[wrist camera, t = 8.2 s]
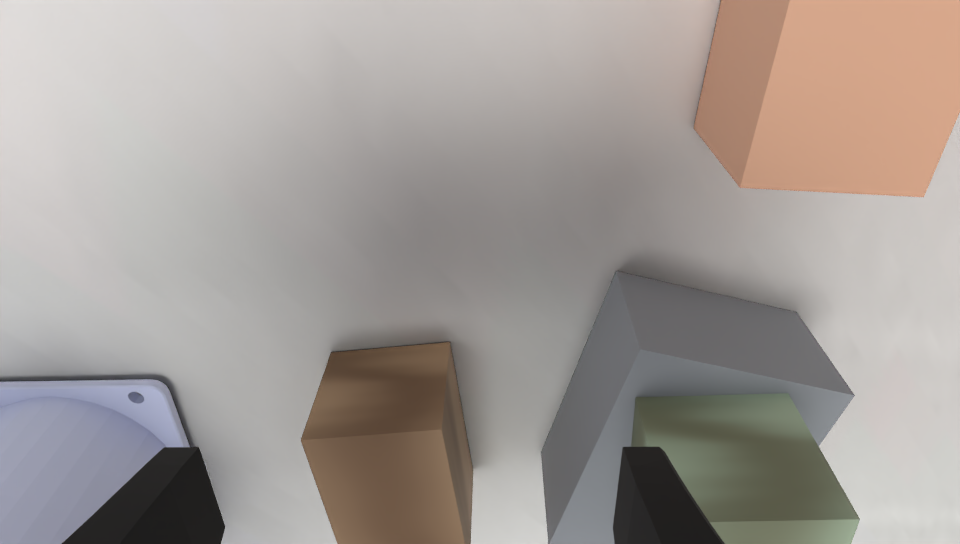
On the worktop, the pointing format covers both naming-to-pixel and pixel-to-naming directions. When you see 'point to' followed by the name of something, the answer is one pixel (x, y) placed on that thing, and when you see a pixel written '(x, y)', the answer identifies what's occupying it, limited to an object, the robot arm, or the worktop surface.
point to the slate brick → (669, 385)
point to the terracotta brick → (832, 93)
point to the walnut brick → (392, 447)
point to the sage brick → (749, 467)
